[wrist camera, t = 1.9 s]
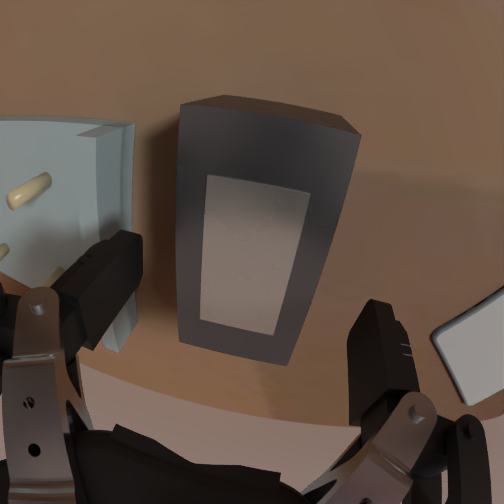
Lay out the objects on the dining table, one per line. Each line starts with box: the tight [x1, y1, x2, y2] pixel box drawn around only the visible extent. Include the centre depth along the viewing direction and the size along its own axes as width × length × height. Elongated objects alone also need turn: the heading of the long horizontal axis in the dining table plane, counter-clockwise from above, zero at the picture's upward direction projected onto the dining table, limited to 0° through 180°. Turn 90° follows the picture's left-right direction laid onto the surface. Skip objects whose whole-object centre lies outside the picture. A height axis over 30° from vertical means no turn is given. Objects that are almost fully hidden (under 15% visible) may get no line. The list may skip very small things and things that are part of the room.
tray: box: [0, 116, 138, 353], centre depth 15 cm, size 14×18×4 cm
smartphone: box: [432, 286, 504, 406], centre depth 17 cm, size 8×1×15 cm
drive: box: [175, 95, 361, 366], centre depth 12 cm, size 10×5×5 cm, turn 172°
